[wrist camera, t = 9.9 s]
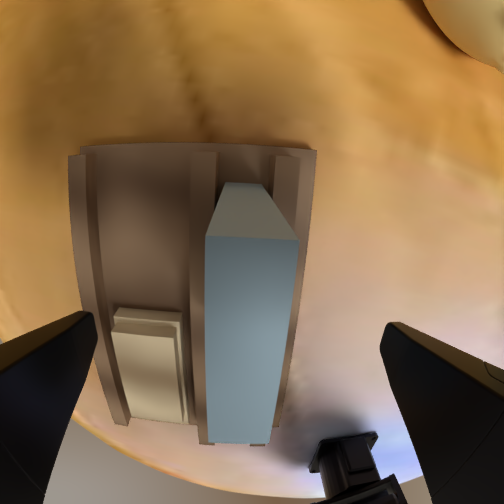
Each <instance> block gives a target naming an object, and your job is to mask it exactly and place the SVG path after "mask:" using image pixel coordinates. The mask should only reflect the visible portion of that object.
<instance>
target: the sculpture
mask: <svg viewBox="0 0 504 504" xmlns="http://www.w3.org/2000/svg"><path fill="white" fill-rule="evenodd" d="M423 2H424V4H425V6H426V8H427V10H428V11H429V13H430V15H431V16H432V18H433V19H434V21H435V22H436V24H437V25H438V26H439V28H440V29H441V30H442V31H443V33H444V34H445V35H446V36H447V37H448V38H449V39H450V40H451V41H452V42H453V43H454V44H455V45H456V46H457V47H459V48H460V49H461V50H462V51H464V52H465V53H467V54H468V55H470V56H471V57H473V58H474V59H476V60H478V61H480V62H482V63H485V64H487V65H490V66H492V67H495V68H496V69H497V70H498V71H500V72H501V73H503V74H504V0H423Z"/></svg>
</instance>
